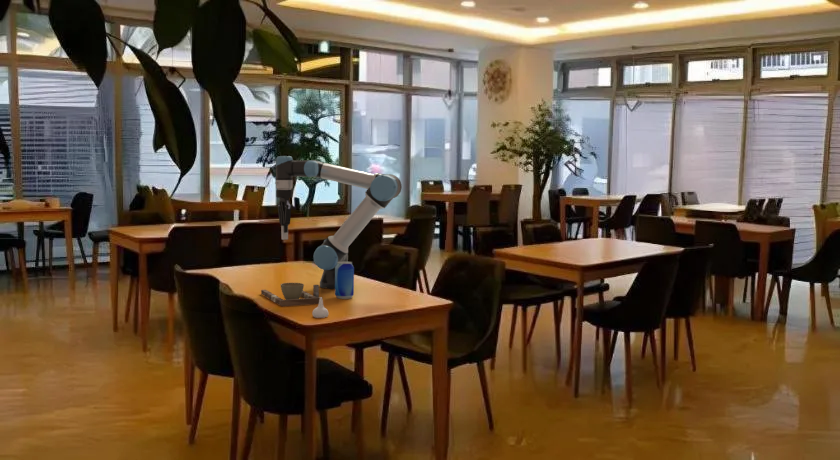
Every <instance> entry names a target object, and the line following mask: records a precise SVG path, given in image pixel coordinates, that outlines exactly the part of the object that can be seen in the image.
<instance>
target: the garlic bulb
mask: <svg viewBox="0 0 840 460" xmlns="http://www.w3.org/2000/svg"><path fill="white" fill-rule="evenodd" d="M319 298H320V299H319V304H317V307H315V308H314V309H313V310H312V312H311V313H312V317H313V318H316V319H324V318H325V317H326V318H328V316H329V314H330V313H329V311H328V309H327V308H326V307H325V305H324V300H323V297H322V296H319Z"/></svg>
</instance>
